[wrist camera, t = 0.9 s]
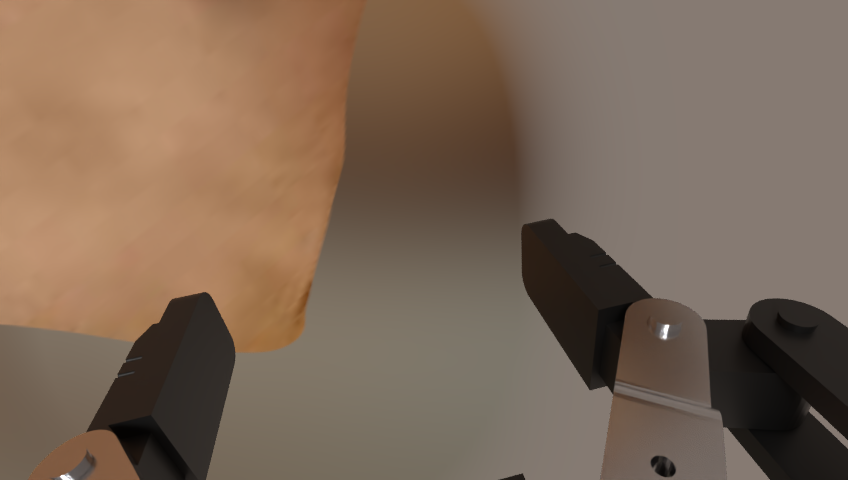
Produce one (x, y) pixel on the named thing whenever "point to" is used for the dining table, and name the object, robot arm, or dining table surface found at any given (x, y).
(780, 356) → the robot arm
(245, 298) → the dining table surface
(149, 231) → the dining table surface
